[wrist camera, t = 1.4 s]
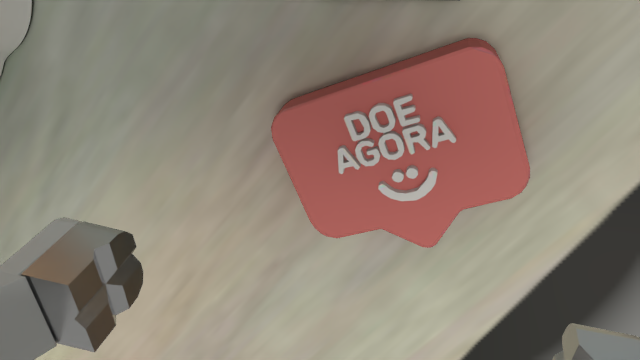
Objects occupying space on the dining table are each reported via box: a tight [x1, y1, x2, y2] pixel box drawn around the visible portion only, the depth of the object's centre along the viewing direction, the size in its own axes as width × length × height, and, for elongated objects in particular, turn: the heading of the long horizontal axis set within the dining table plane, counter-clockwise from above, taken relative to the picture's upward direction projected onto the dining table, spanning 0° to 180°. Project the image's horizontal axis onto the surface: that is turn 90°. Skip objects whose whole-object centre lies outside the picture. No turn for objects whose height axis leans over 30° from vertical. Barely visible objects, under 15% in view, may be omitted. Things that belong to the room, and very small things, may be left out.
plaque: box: [271, 38, 530, 248], centre depth 40 cm, size 18×4×15 cm
